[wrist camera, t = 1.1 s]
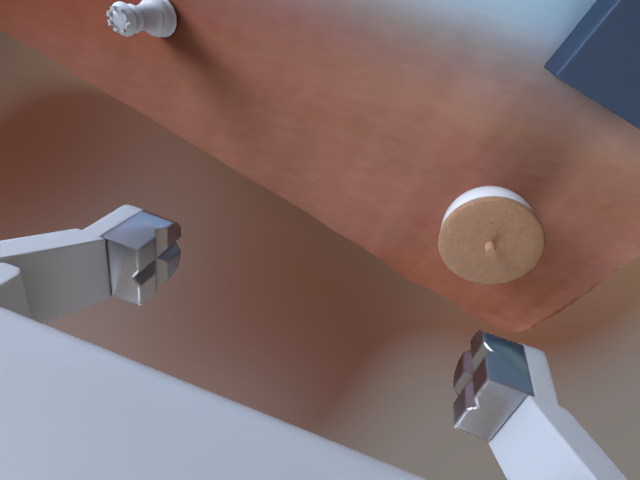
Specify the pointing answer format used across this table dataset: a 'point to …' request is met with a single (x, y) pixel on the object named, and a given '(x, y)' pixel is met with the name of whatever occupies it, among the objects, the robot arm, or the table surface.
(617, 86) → the blue box
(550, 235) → the table surface
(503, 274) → the trinket box
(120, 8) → the rook chess piece
